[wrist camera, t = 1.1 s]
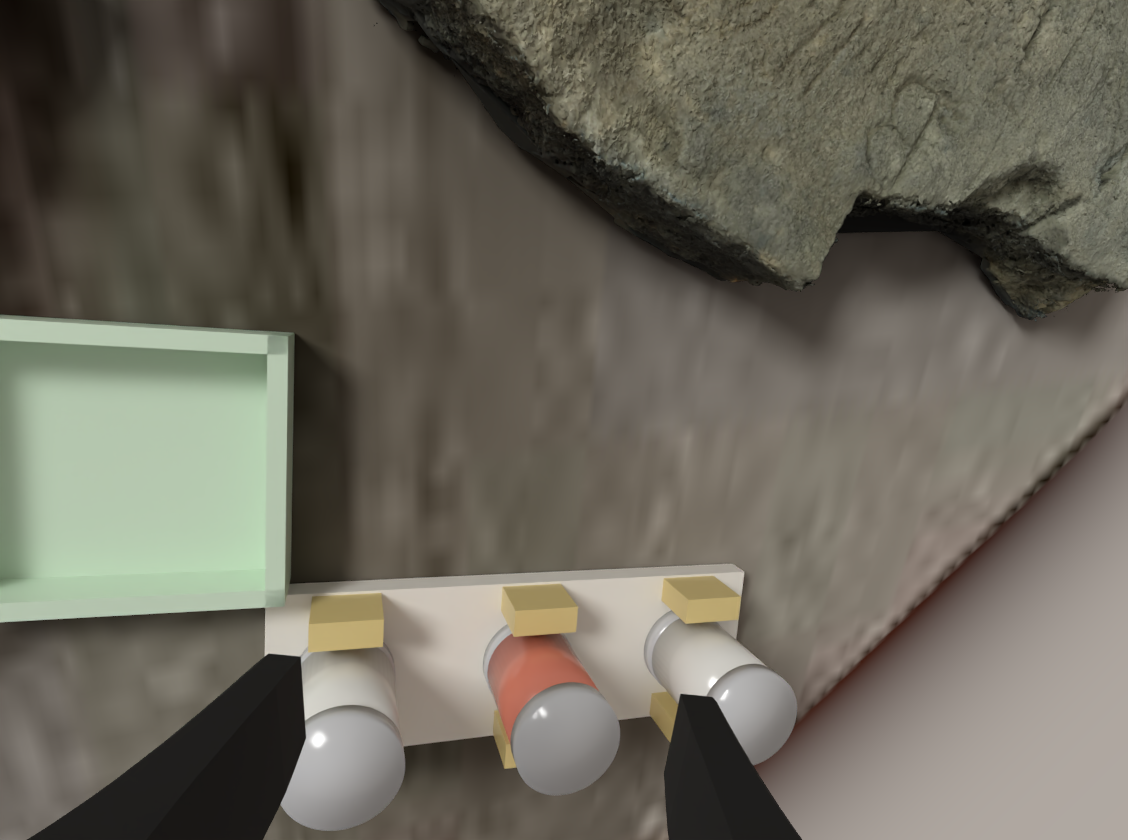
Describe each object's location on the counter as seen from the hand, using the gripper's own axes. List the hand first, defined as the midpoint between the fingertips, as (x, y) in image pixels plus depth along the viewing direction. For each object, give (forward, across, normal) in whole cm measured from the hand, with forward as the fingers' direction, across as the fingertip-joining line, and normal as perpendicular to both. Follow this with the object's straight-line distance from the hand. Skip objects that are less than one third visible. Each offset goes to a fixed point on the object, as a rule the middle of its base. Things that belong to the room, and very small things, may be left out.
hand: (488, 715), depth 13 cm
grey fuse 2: (+14, -7, +9) cm, 18 cm away
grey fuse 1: (+10, +6, +9) cm, 14 cm away
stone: (+22, -10, -15) cm, 29 cm away
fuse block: (+13, 0, +9) cm, 16 cm away
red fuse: (+12, 0, +9) cm, 15 cm away
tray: (+10, +13, +1) cm, 17 cm away
